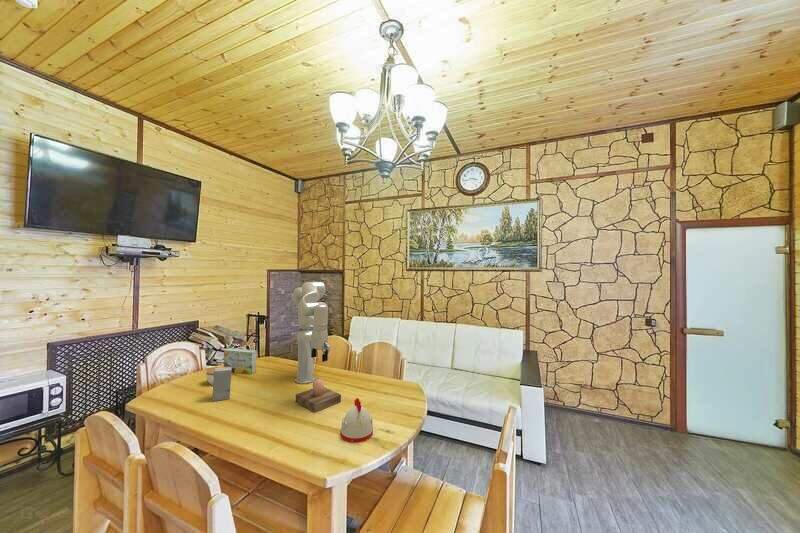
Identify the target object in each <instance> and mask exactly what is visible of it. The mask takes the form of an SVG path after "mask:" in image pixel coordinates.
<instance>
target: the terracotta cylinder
mask: <svg viewBox="0 0 800 533" xmlns="http://www.w3.org/2000/svg"><path fill="white" fill-rule="evenodd" d="M324 387H325V379H323V378H316V380H314V381H313V382H312V389H313V394H312V395H313V396H316V397H319V396H322V395H324Z"/></svg>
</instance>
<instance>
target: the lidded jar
mask: <svg viewBox="0 0 800 533" xmlns="http://www.w3.org/2000/svg"><path fill="white" fill-rule="evenodd" d="M215 368H219V367H214V368H210V369H208V370H206V372H205V374H206V375H205V376H206V380H207V382H208V383H209V384H210V385H211V386H213V381H214V370H215Z"/></svg>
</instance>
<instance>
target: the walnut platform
mask: <svg viewBox="0 0 800 533" xmlns="http://www.w3.org/2000/svg"><path fill="white" fill-rule="evenodd" d="M312 394H313V388H309V389H307V390H304V391H301V392H298V393H296V394H295V403H297V404H298V405H301V406H303V407H304V408H306V409H308V410H310V411H312V412H314V413H317V412H320V411H323V410H325V409H327V408H330V407H332V406H334V405H337V404H339V403H341V402H342V394H341V393H339V392H336V391H334V390H331V389H329V388H326V387H325V386H324V395H322V396H319V397H316V396H313V395H312Z"/></svg>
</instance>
